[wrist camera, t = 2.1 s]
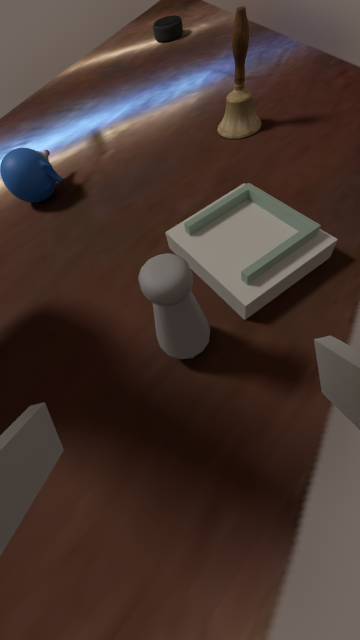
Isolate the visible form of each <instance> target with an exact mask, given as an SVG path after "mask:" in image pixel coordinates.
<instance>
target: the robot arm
mask: <svg viewBox="0 0 360 640" xmlns="http://www.w3.org/2000/svg"><path fill="white" fill-rule="evenodd" d="M314 343H315V350H316V356H317V363H318V370H319V377H320V383H321V390H322V393H323V394H324V395H325V396H326V397H327V398H328V399H329V400H330V401H331V402H332V403H333V404H334V405H335V406H336V407H337V408H338V409H339V410H340V411H341V412H342V413H343V414H344V415H346V417H347V418H348V419H350V420H351V421H352V422H353V423H354V424H355V425H356V426H357V427H358V428H359V429H360V351H359V350H357V349H355V348H353V347H351V346H349V345H347V344H345V343H344V342H342V341H340V340H338V339H336V338H334V337H332V336H327V337H323V338H318V339H314ZM63 451H64V449H63V447H62V444H61V442H60V439H59V437H58V434H57V432H56V429H55V427H54V424H53V422H52V419H51V417H50V414H49V412H48V409H47V406H46V404H45V402H44V403H40V404H36V405H31V406H29V407H28V408H27V409H26V410H25V411H24V412H23V413H22V414H21V415H20V416H19V417H18V418H17V419H16V420H15V421H14V422H13V423H12V424H11V425H10V426H9V427H8V428H7V429H6V430H5V431H4V432H3V433H2V434H1V435H0V556H1V554H2V553H3V551H4V549H5V548H6V546H7V544H8V543H9V541H10V539H11V538H12V536H13V534H14V533H15V531H16V529H17V528H18V526H19V524H20V523H21V521H22V519H23V518H24V516H25V514H26V513H27V511H28V509H29V508H30V506H31V504H32V502H33V501H34V499H35V497H36V496H37V494H38V492H39V491H40V489H41V487H42V486H43V484H44V482H45V481H46V479H47V477H48V476H49V474H50V472H51V471H52V469H53V467H54V466H55V464H56V462H57V461H58V459H59V457H60V456H61V454H62V452H63Z"/></svg>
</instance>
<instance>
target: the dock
mask: <svg viewBox="0 0 360 640" xmlns="http://www.w3.org/2000/svg"><path fill="white" fill-rule="evenodd" d="M320 226H321V225H319V224H318V223H316V222H314V221H313V220H311V219H309V218H308V217H306V216H304V215H302V214H301V213H299V212H297V211H296V210H294V209H292V208H291V207H289V206H287V205H286V204H284V203H282V202H280V201H279V200H277V199H275V198H274V197H272V196H270V195H269V194H267V193H265V192H263V191H262V190H260V189H258V188H257V187H255V186H253V185H252V184H250V183H248V184H242V185H241V186H239V187H237V188H236V189H234V190H233V191H231V192H229V193H228V194H226V195H225V196H223V197H221V198H220V199H218V200H217V201H215V202H213V203H212V204H210V205H209V206H207V207H205V208H204V209H202V210H200V211H199V212H197V213H196V214H194V215H192V216H191V217H189V218H188V219H186V220H184V221H183V222H181V223H180V224H178V225H176V226H175V227H173V228H172V229H170V230H168V231H167V232H165V233H166V236H167V240H168V244H169V247H170V249H171V250H172V251H173V252H174V253H175V254H176V255H179V256H180V257H182V258H183V259H185V260H186V261H187V263H188V265H189V267H190V268H191V269H192V270H193V271H194V272H195V273H196V274H197V275H198V276H199V277H200V278H201V279H202V280H203V281H204V282H206V283H207V284H208V285H209V286H210V287H211V288H212V289H213V290H214V291H215V292H216V293H217V294H218V295H219V296H220V297H221V298H222V299H223V300H224V301H225V302H226V303H227V304H228V305H230V306H231V307H232V308H233V309H234V310H235V311H236V312H237V313H238V314H239V315H240V316H241V317H242V318H243V319H244V320H246V319H247V318H248V317H250V316H251V315H252V314H254V313H255V312H257V311H258V310H259V309H261V308H262V307H263V306H265V305H266V304H267V303H269V302H270V301H272V300H273V299H274V298H276V297H277V296H278V295H280V294H281V293H282V292H284V291H285V290H286V289H288V288H289V287H291V286H292V285H293V284H295V283H296V282H297V281H299V280H300V279H301V278H303V277H304V276H306V275H307V274H308V273H310V272H311V271H312V270H314V269H315V268H316V267H318V266H319V265H320V264H322V263H323V262H325V261H326V260H327V259H329V258H330V257H331V254H332V252H333V249H334V247H335V245H336V242H337V240H338V239H336V238H334V237H333V236H331V235H329V234H328V233H326V232H324V231H323V230H321V229H320Z"/></svg>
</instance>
